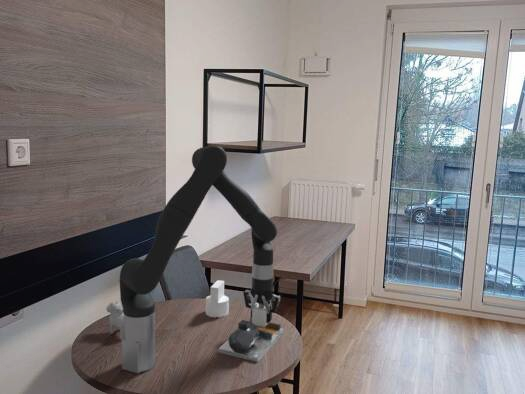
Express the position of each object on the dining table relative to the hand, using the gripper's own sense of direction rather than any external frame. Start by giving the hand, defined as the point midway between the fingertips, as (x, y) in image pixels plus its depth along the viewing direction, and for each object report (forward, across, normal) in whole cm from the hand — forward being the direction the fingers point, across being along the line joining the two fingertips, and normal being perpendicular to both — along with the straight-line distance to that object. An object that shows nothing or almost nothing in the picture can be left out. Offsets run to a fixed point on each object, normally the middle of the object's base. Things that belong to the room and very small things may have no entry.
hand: (261, 320), depth 171 cm
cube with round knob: (+1, 0, 0) cm, 1 cm away
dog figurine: (+5, -45, -22) cm, 50 cm away
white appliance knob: (+5, -23, +10) cm, 26 cm away
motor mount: (+5, 0, -7) cm, 9 cm away
